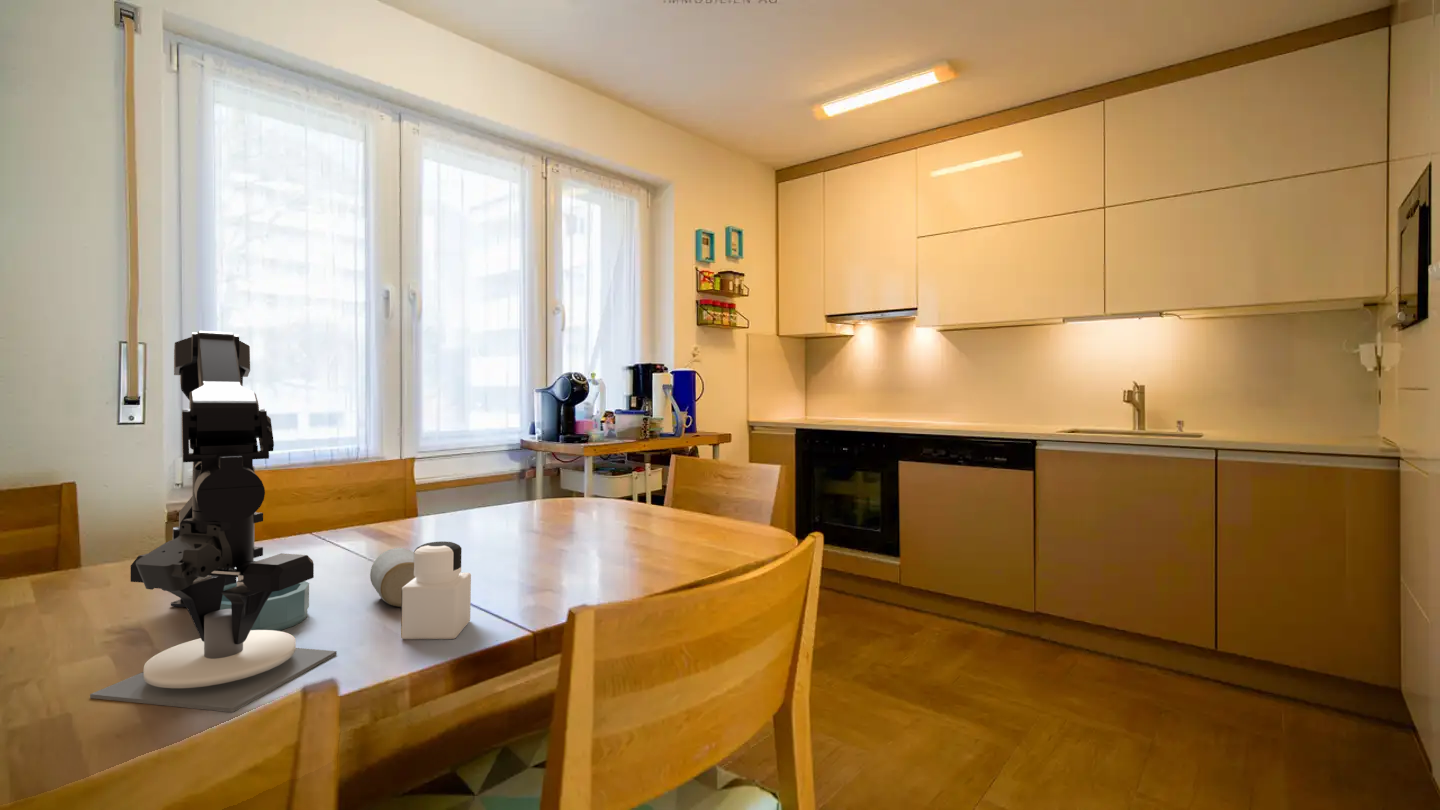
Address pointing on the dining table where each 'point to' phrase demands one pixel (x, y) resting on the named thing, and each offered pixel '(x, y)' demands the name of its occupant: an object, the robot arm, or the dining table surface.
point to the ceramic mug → (392, 574)
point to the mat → (215, 686)
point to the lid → (218, 656)
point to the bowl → (279, 607)
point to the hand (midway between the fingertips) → (223, 641)
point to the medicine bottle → (436, 594)
